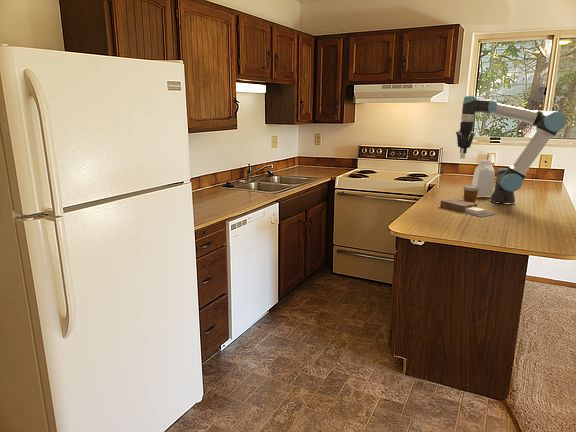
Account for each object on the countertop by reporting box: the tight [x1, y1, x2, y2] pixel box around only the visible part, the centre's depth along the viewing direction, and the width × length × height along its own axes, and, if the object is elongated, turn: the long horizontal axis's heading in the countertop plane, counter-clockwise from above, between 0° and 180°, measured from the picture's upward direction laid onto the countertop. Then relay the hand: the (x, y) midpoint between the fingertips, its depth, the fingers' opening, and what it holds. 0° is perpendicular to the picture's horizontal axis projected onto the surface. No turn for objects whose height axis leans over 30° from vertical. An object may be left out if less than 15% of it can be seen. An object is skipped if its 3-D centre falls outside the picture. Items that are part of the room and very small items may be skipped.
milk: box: [471, 159, 496, 196], centre depth 306 cm, size 12×12×26 cm
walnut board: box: [439, 198, 478, 213], centre depth 267 cm, size 14×16×4 cm
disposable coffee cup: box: [463, 184, 479, 203], centre depth 278 cm, size 10×10×12 cm
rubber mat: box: [462, 210, 496, 218], centre depth 255 cm, size 15×12×1 cm
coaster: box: [465, 207, 486, 214], centre depth 257 cm, size 8×8×2 cm
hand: (462, 158), depth 278 cm, fingers closed
